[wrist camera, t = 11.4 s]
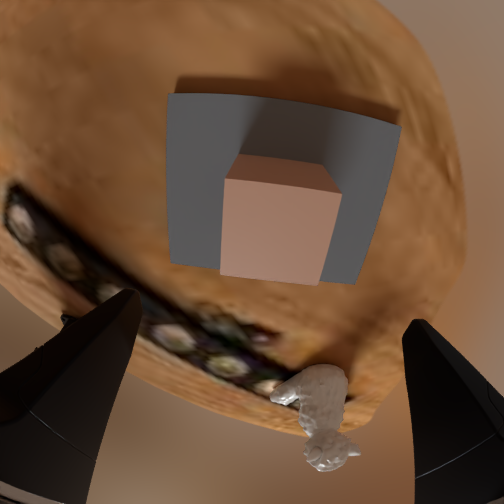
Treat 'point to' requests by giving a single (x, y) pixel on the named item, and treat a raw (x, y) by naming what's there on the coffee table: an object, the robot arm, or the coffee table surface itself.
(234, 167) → the terracotta cube
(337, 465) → the white creature statuette
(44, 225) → the coffee table surface
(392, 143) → the charcoal mat
